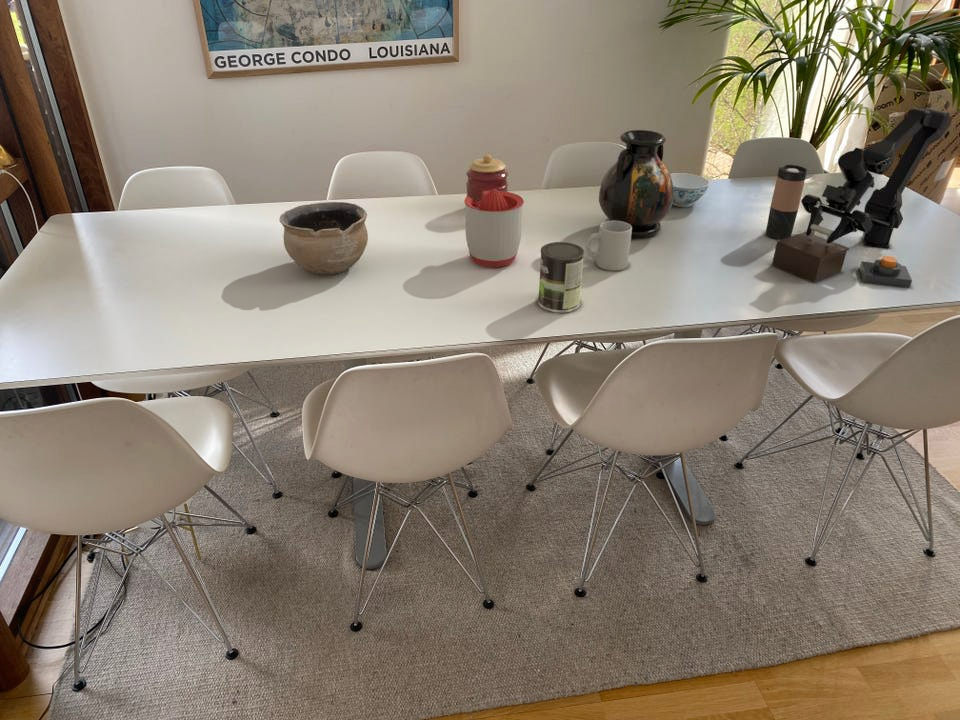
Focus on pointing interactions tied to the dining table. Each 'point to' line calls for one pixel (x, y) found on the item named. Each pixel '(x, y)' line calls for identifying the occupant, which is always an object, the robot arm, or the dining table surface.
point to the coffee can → (560, 277)
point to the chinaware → (688, 188)
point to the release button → (888, 261)
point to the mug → (612, 245)
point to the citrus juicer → (494, 227)
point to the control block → (885, 274)
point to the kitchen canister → (485, 177)
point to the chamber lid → (813, 244)
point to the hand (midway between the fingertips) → (816, 238)
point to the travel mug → (785, 201)
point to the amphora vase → (638, 184)
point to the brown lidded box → (807, 264)
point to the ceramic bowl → (325, 236)
